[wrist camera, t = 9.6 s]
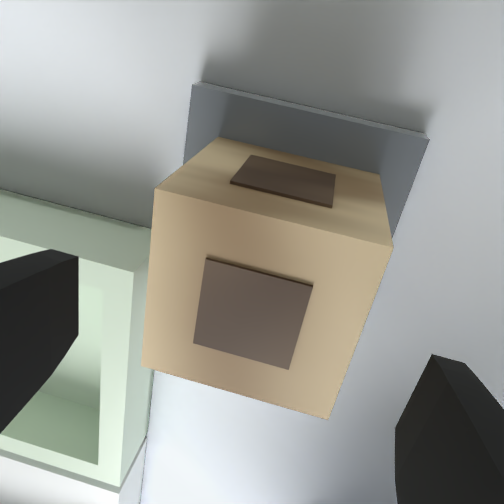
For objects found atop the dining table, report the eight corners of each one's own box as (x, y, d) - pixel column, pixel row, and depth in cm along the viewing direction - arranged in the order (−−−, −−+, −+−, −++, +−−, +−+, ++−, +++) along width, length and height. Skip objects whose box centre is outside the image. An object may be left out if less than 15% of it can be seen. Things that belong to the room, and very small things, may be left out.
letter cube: (380, 171, 13) (395, 245, 9) (334, 309, 16) (328, 422, 11) (218, 133, 14) (153, 185, 9) (198, 273, 16) (139, 368, 12)
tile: (425, 133, 13) (429, 139, 12) (355, 319, 16) (356, 332, 16) (200, 81, 14) (192, 84, 13) (177, 270, 17) (169, 281, 16)
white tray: (147, 438, 22) (118, 494, 19) (134, 556, 27) (111, 613, 24) (-89, 365, 23) (-146, 408, 20) (-57, 492, 28) (-99, 539, 26)
